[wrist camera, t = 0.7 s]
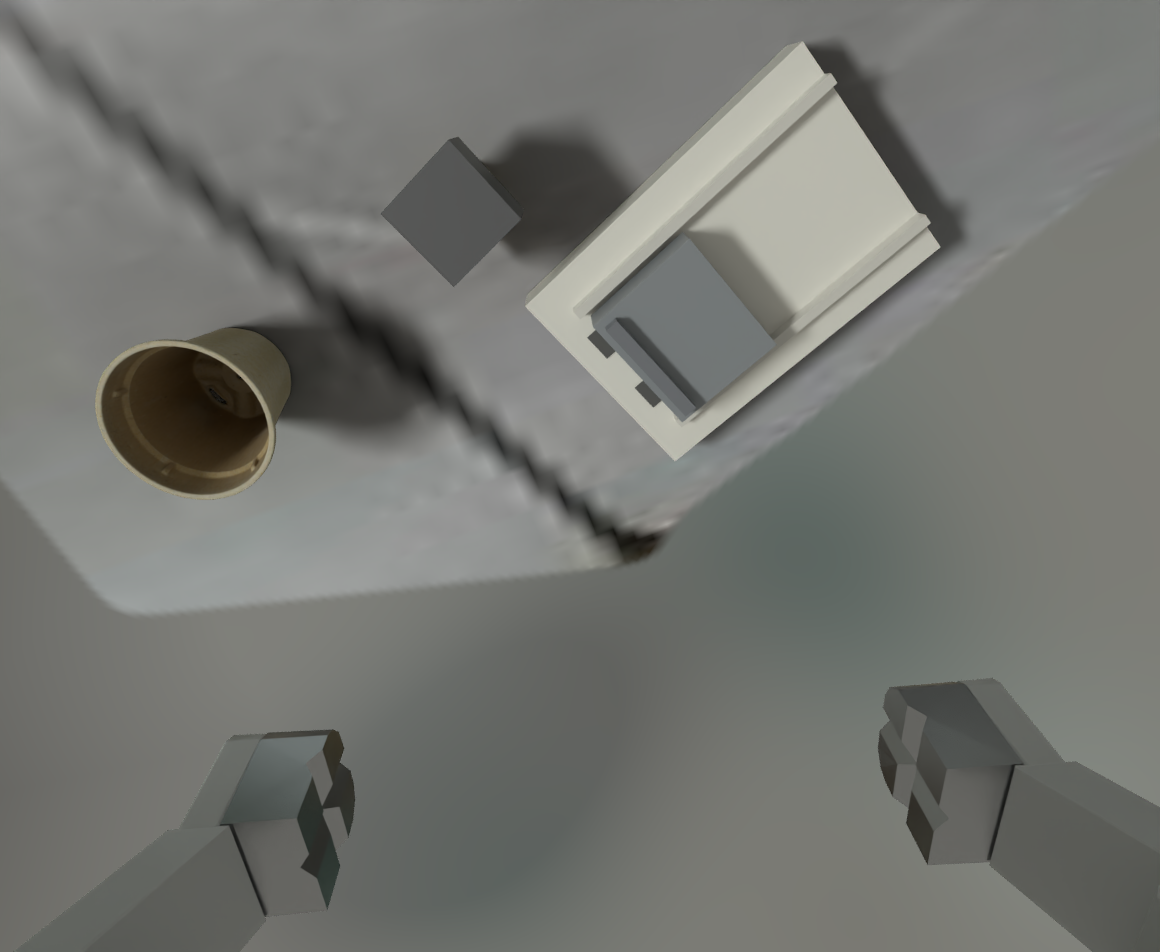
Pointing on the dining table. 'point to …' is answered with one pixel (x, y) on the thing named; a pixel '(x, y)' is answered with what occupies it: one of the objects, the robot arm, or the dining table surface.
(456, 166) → the plug
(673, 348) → the cover
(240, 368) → the flower pot
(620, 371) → the socket plate
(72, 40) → the dining table surface
